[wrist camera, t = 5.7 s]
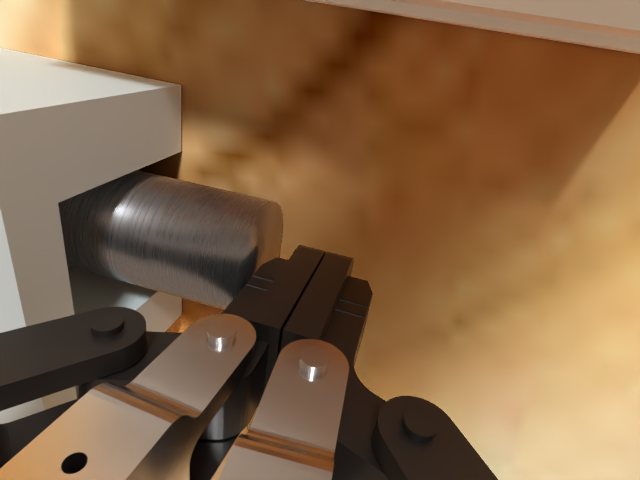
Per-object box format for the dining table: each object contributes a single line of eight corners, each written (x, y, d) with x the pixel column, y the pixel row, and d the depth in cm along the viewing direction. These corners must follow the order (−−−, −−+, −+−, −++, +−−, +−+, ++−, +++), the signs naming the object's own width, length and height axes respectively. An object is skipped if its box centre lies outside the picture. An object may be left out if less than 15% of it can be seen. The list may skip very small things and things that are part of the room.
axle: (287, 186, 12) (240, 230, 9) (278, 279, 14) (235, 340, 11) (-139, 90, 15) (-272, 102, 12) (-108, 176, 16) (-221, 204, 14)
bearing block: (181, 84, 12) (-19, 117, 7) (181, 314, 15) (52, 448, 10) (1, 47, 13) (-292, 51, 8) (42, 271, 16) (-139, 375, 11)
